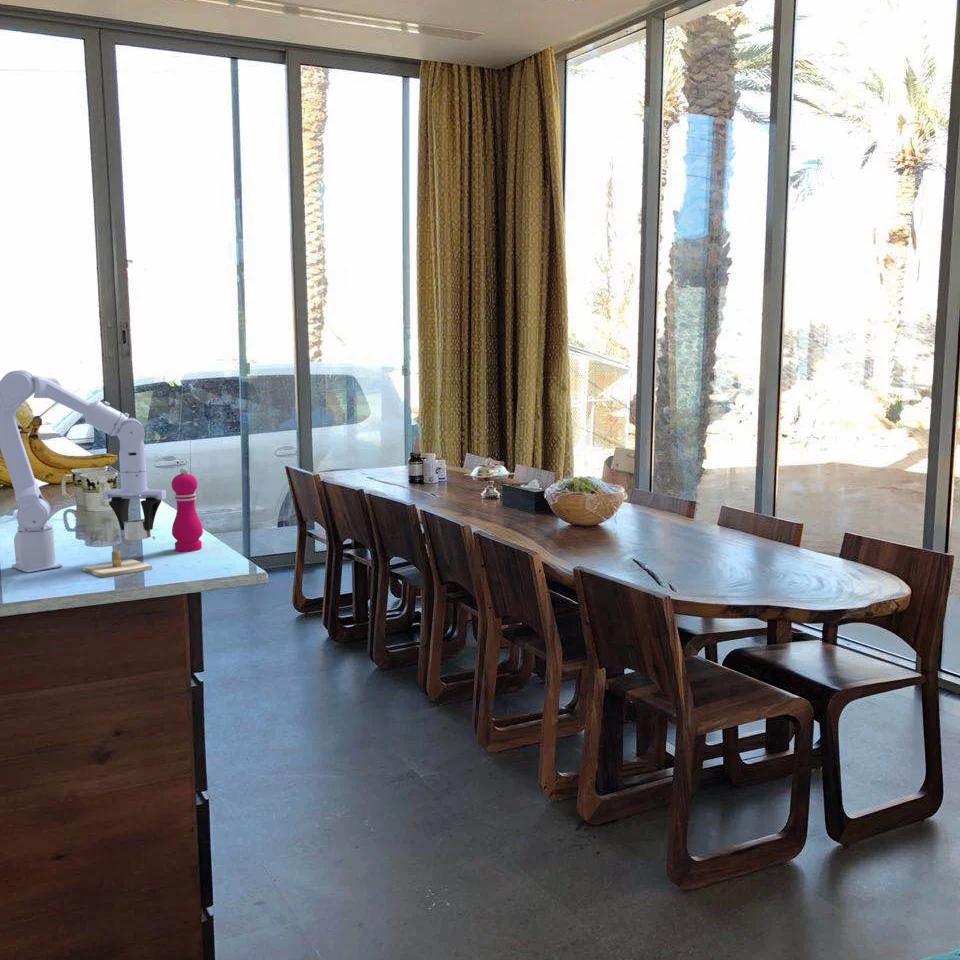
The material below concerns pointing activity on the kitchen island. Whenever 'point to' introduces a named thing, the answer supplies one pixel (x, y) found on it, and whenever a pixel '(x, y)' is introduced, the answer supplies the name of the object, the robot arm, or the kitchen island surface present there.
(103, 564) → the post block
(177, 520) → the pepper mill
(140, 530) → the collar
